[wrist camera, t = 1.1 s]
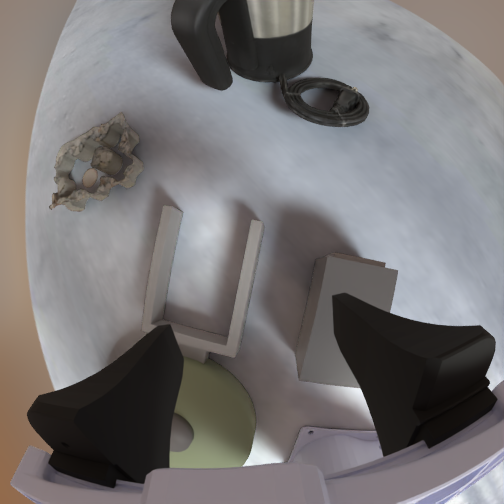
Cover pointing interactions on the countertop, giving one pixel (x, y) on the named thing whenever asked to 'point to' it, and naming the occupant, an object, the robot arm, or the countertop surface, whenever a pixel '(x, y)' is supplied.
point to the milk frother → (261, 51)
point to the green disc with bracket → (205, 363)
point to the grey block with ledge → (321, 313)
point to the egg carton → (96, 163)
